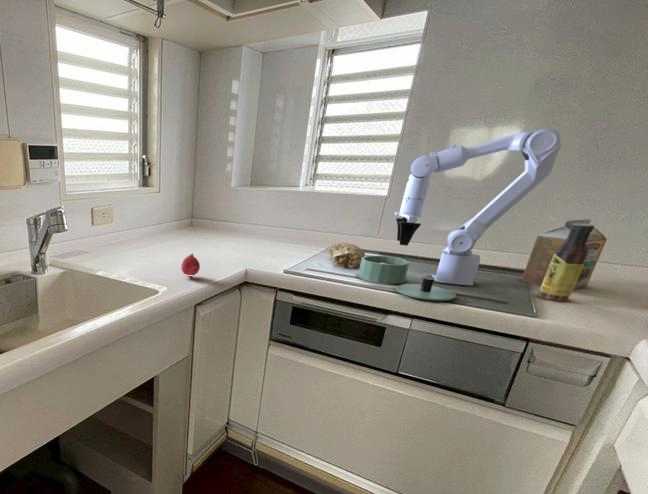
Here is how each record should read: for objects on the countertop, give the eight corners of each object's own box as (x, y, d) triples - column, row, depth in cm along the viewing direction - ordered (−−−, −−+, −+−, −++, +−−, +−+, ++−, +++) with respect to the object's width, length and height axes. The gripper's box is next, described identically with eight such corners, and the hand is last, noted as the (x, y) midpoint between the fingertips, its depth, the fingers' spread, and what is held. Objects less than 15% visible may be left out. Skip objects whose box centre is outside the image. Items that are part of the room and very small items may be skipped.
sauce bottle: (536, 293, 113) (564, 221, 106) (567, 297, 110) (598, 223, 102) (537, 299, 109) (566, 224, 101) (569, 304, 105) (602, 226, 97)
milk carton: (561, 290, 116) (589, 223, 108) (521, 280, 125) (543, 218, 118) (586, 287, 118) (614, 221, 111) (544, 277, 128) (568, 216, 120)
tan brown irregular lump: (362, 273, 138) (368, 251, 152) (361, 252, 135) (368, 231, 149) (321, 275, 146) (331, 253, 160) (320, 254, 142) (329, 234, 156)
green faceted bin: (401, 275, 131) (406, 257, 129) (406, 286, 120) (411, 266, 118) (357, 271, 136) (361, 254, 134) (358, 281, 125) (362, 262, 123)
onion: (184, 280, 126) (185, 255, 123) (178, 276, 132) (179, 252, 129) (201, 279, 128) (203, 254, 125) (195, 274, 133) (196, 250, 130)
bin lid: (448, 290, 116) (453, 275, 114) (460, 305, 104) (465, 288, 102) (393, 285, 121) (397, 270, 119) (398, 298, 109) (402, 282, 108)
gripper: (396, 195, 131) (386, 237, 136) (401, 199, 118) (390, 245, 124) (421, 197, 128) (410, 239, 133) (429, 201, 116) (416, 248, 121)
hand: (402, 242), depth 128 cm, fingers open, 7 cm apart
